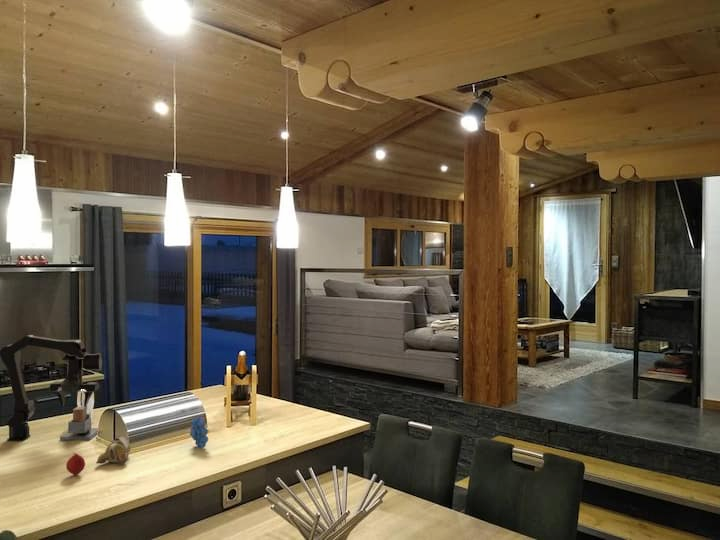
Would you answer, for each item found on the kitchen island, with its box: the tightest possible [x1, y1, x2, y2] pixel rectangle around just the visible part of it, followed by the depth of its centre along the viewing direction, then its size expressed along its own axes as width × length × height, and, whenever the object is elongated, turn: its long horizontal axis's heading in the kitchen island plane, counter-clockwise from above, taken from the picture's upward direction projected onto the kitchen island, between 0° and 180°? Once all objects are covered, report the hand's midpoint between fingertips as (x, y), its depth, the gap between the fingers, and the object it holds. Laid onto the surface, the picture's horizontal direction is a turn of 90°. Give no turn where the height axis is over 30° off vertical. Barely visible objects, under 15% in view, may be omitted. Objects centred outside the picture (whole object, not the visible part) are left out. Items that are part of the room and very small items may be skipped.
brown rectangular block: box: [72, 406, 87, 422], centre depth 246 cm, size 4×4×9 cm
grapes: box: [189, 416, 209, 448], centre depth 235 cm, size 12×7×12 cm, turn 44°
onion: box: [66, 452, 86, 476], centre depth 203 cm, size 6×6×8 cm
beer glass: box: [76, 389, 95, 425], centre depth 264 cm, size 7×7×15 cm
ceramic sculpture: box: [95, 435, 131, 465], centre depth 218 cm, size 11×9×15 cm
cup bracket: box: [59, 413, 99, 441], centre depth 247 cm, size 12×12×8 cm
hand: (74, 406), depth 246 cm, fingers open, 9 cm apart
